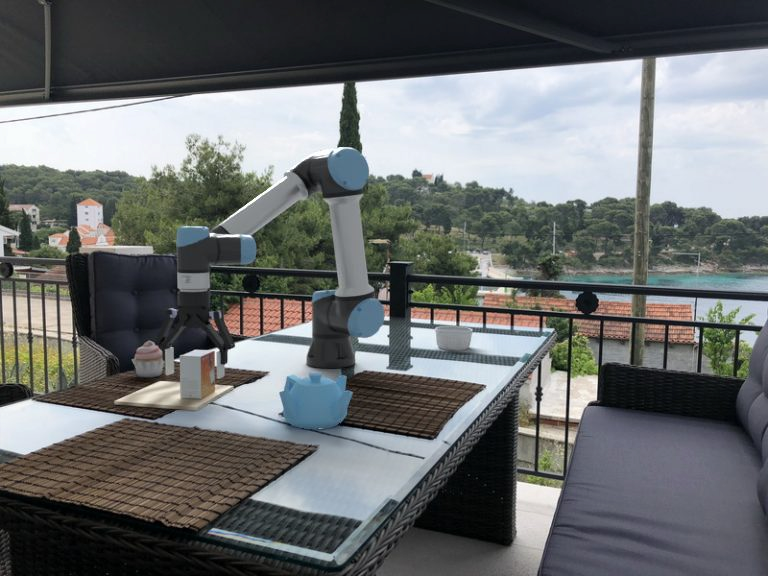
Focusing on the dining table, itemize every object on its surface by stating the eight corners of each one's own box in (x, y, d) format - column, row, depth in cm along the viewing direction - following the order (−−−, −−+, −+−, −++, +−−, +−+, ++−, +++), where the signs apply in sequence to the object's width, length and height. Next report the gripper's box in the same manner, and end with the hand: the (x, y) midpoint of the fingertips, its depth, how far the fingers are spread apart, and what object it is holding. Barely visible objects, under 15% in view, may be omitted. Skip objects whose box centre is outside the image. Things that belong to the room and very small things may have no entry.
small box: (201, 399, 152) (200, 356, 151) (179, 398, 153) (178, 355, 152) (215, 391, 160) (215, 350, 158) (195, 389, 161) (194, 349, 160)
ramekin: (471, 345, 231) (472, 326, 231) (472, 352, 218) (473, 332, 218) (435, 343, 233) (435, 325, 232) (434, 350, 220) (434, 331, 219)
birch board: (233, 388, 165) (233, 385, 165) (196, 410, 146) (196, 407, 146) (160, 383, 169) (160, 380, 169) (114, 404, 150) (114, 401, 150)
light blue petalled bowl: (349, 410, 148) (349, 365, 147) (352, 431, 133) (353, 381, 132) (283, 412, 146) (282, 366, 145) (279, 433, 131) (279, 382, 130)
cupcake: (129, 380, 173) (128, 344, 172) (133, 372, 182) (132, 338, 181) (165, 378, 175) (165, 342, 174) (168, 370, 184) (167, 337, 183)
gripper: (138, 289, 153) (140, 376, 155) (235, 293, 148) (235, 382, 150) (155, 286, 160) (157, 369, 162) (248, 290, 155) (248, 375, 157)
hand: (195, 375), depth 156 cm, fingers open, 13 cm apart
